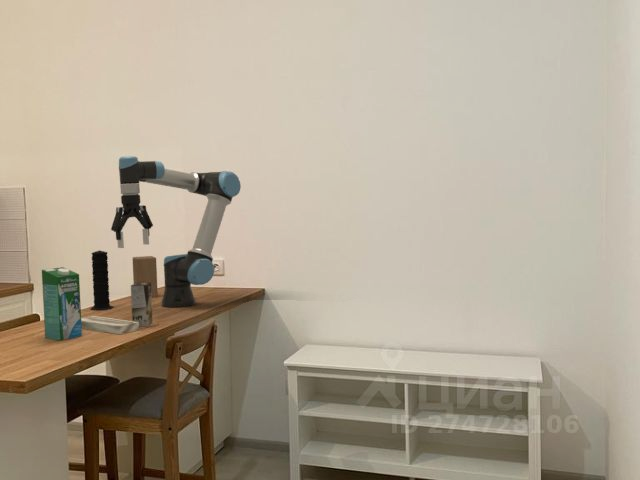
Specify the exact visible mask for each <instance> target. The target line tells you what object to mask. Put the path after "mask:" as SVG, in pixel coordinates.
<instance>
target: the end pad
mask: <svg viewBox="0 0 640 480" xmlns="http://www.w3.org/2000/svg"><path fill="white" fill-rule="evenodd" d="M158 325H159V323H156V322H152V323H151V324H150V325H149V326H143V327H139V330H140V329H141V330H142V329H145V328H149V327H154V326H158Z"/></svg>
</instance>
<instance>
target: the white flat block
mask: <svg viewBox="0 0 640 480" xmlns="http://www.w3.org/2000/svg"><path fill="white" fill-rule="evenodd" d="M81 325H82V329H83V330H84V329H85V330H90V331H95V332H102V333H107V334H114V335H124V334H128V333H133V332H137V331H140V328H139V322H134V321H132V320H127V319H126V320H125V319H119V318H112V317H104V316H97V315H90V316H84V317H81Z"/></svg>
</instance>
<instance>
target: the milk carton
mask: <svg viewBox="0 0 640 480" xmlns="http://www.w3.org/2000/svg"><path fill="white" fill-rule="evenodd" d="M41 281H42V282H41V283H42V300H43V301H42V302H43V318H44V320H43V321H44V338H45V339H49V340H56V341H64V340H65V341H66V340H70V339H73V338H74V339H75V338H78V337H81V336H82V337H83V330H82V325H81V318H82V309H81V288H80V285H81V284H80V274H79V273H77V272H75V271H72V270H70V269H68V268H65V267H63V266H61V267H54V268H46V269H41Z"/></svg>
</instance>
